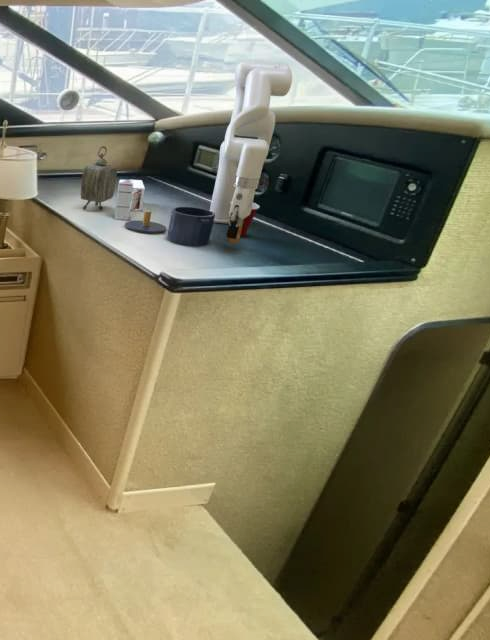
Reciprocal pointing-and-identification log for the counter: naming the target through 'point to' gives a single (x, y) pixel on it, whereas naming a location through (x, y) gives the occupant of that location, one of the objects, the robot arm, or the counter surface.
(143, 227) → the lid
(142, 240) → the counter surface
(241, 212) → the robot arm
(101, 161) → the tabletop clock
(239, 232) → the supplement box
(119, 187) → the syrup box
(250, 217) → the plastic cup
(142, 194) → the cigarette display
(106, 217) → the counter surface
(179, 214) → the pot
